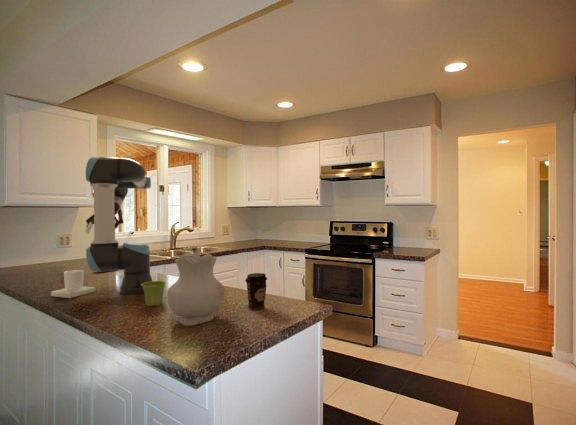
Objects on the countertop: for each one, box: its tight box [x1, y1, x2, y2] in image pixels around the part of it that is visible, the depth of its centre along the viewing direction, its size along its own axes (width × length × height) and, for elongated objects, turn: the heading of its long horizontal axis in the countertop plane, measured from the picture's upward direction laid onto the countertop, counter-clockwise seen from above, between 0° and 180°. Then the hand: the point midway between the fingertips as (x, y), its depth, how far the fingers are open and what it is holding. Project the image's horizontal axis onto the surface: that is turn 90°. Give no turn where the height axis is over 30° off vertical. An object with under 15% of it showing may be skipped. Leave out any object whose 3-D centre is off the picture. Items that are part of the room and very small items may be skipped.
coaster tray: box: [50, 285, 96, 299], centre depth 157 cm, size 13×13×2 cm
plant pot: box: [141, 280, 167, 307], centre depth 136 cm, size 9×9×9 cm
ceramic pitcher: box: [166, 246, 226, 327], centre depth 117 cm, size 22×20×25 cm
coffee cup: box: [244, 272, 268, 311], centre depth 128 cm, size 9×8×13 cm
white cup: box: [63, 269, 85, 293], centre depth 157 cm, size 8×8×10 cm
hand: (99, 232), depth 181 cm, fingers open, 13 cm apart
